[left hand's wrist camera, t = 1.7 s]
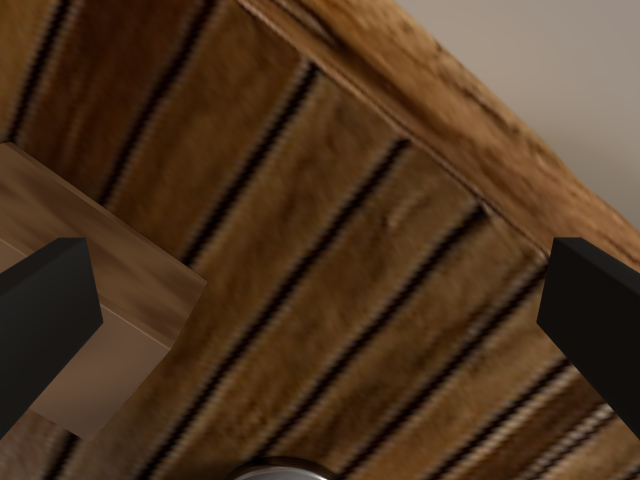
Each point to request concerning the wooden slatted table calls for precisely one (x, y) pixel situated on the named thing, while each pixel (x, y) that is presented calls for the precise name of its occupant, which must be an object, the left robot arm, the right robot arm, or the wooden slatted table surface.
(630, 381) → the left robot arm
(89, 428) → the cabinet
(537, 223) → the wooden slatted table surface
